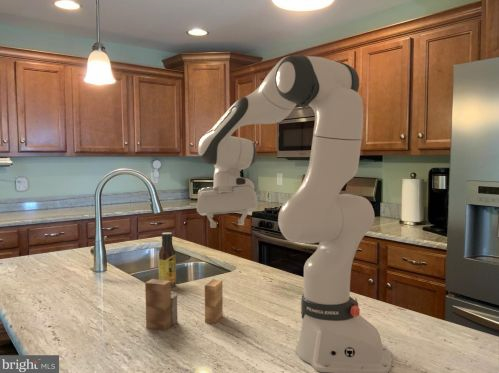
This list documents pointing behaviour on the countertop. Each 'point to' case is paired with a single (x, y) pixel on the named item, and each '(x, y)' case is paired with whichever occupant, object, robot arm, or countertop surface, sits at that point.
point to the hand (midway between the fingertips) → (227, 226)
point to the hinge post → (160, 304)
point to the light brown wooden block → (213, 301)
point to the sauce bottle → (167, 259)
